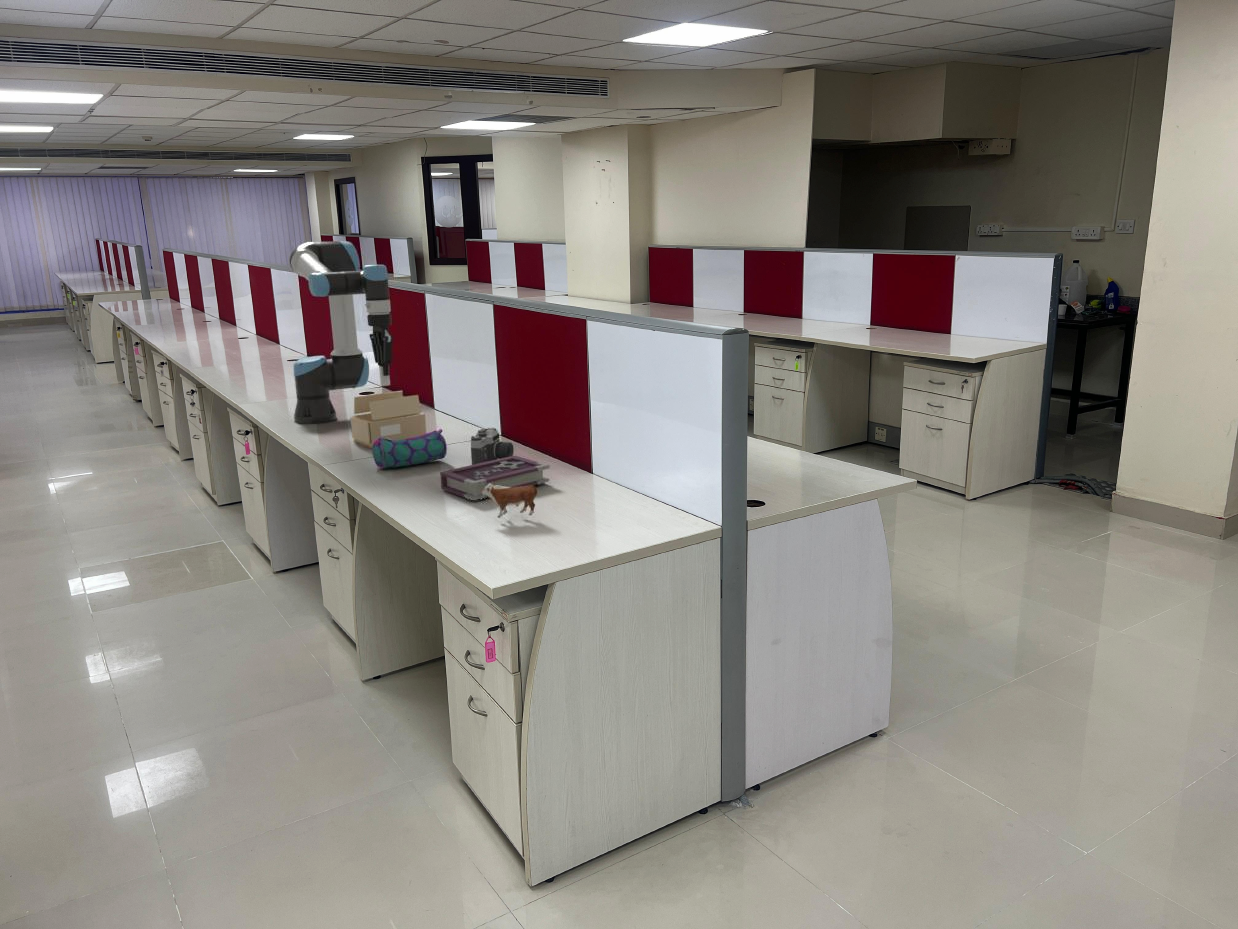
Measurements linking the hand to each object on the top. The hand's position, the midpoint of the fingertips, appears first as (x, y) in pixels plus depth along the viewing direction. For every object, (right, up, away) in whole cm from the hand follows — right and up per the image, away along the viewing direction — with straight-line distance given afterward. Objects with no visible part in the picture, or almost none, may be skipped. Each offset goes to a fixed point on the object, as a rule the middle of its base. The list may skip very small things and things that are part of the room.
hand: (385, 385), depth 293 cm
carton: (0, -18, +5) cm, 19 cm away
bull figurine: (+51, -39, -75) cm, 99 cm away
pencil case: (+14, -26, -25) cm, 39 cm away
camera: (+40, -26, -25) cm, 53 cm away
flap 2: (+5, -10, -3) cm, 12 cm away
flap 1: (-5, -8, +8) cm, 12 cm away
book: (+43, -32, -48) cm, 72 cm away
